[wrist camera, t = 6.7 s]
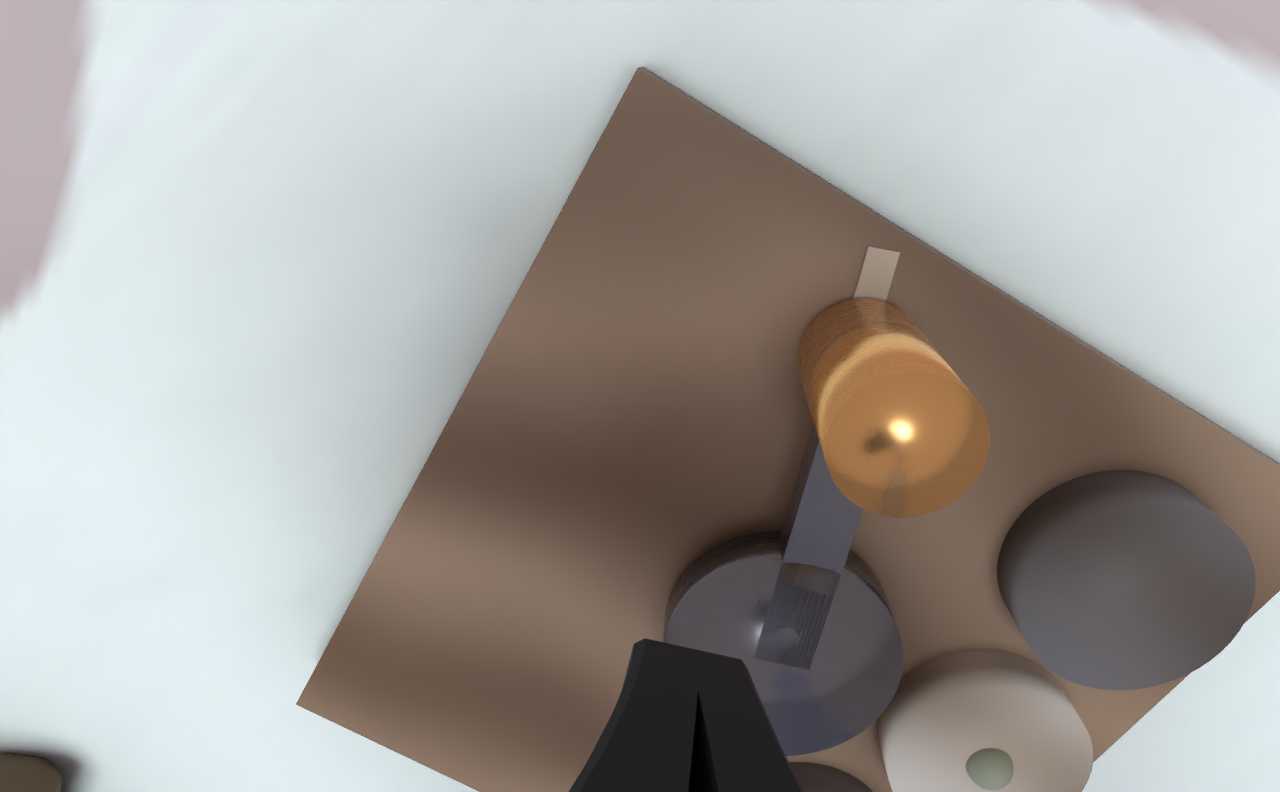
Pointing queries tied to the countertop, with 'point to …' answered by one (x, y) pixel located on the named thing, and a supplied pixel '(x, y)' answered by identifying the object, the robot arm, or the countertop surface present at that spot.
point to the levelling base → (785, 492)
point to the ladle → (837, 528)
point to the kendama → (27, 774)
